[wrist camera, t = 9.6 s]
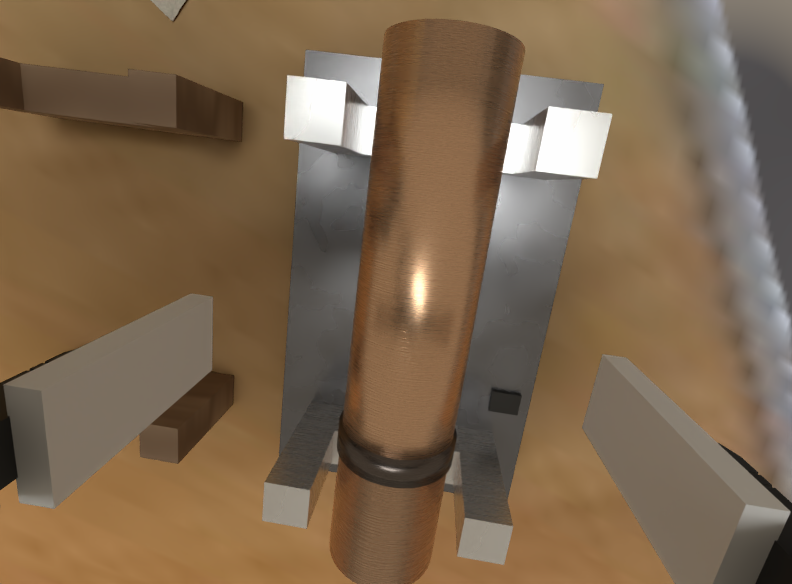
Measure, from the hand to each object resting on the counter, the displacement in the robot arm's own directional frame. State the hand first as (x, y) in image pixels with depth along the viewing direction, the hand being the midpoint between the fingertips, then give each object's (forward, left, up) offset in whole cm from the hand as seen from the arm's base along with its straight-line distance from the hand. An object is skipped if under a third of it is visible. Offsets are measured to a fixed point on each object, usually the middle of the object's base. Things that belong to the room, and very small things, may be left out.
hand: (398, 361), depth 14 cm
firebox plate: (0, 0, -10) cm, 10 cm away
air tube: (0, 0, -6) cm, 6 cm away
